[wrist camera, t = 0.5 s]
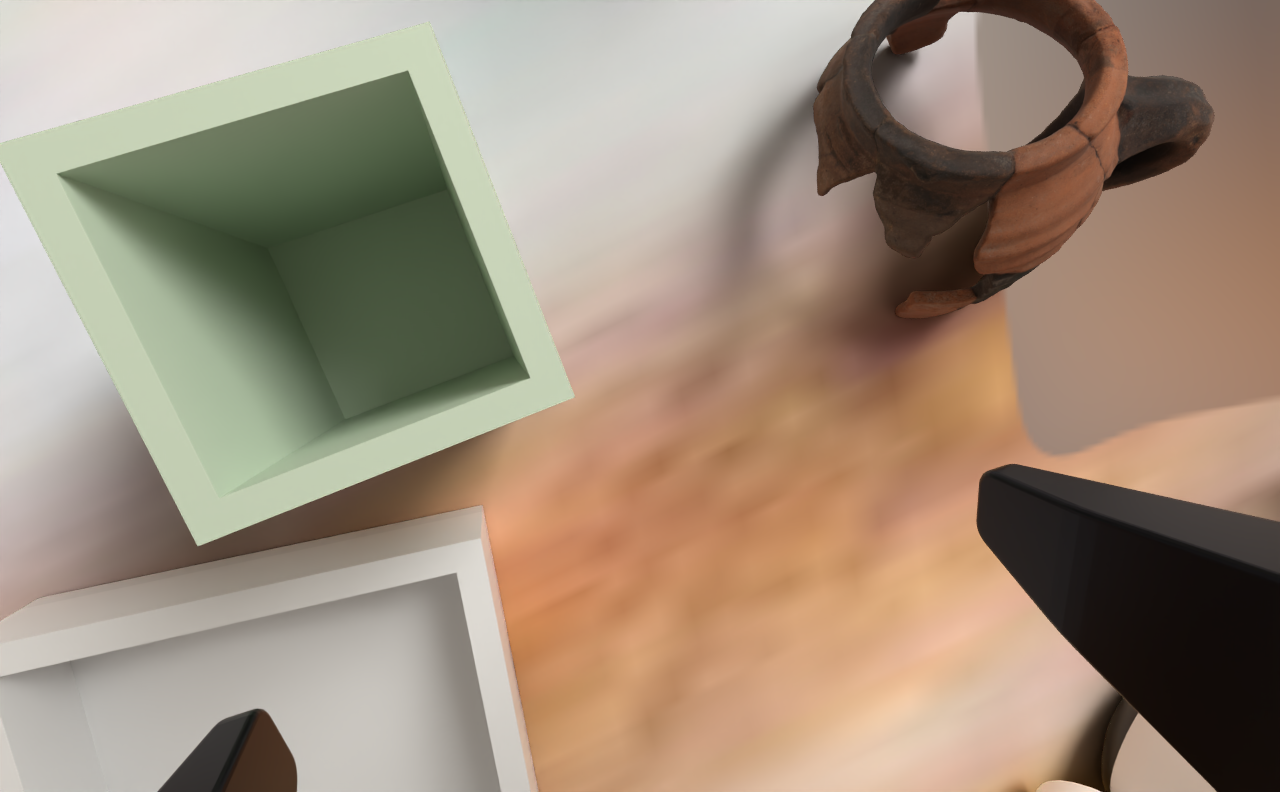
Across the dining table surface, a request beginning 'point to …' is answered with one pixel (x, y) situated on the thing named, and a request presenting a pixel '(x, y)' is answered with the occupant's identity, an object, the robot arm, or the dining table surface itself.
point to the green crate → (293, 275)
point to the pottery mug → (1014, 180)
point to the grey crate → (277, 667)
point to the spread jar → (1137, 760)
